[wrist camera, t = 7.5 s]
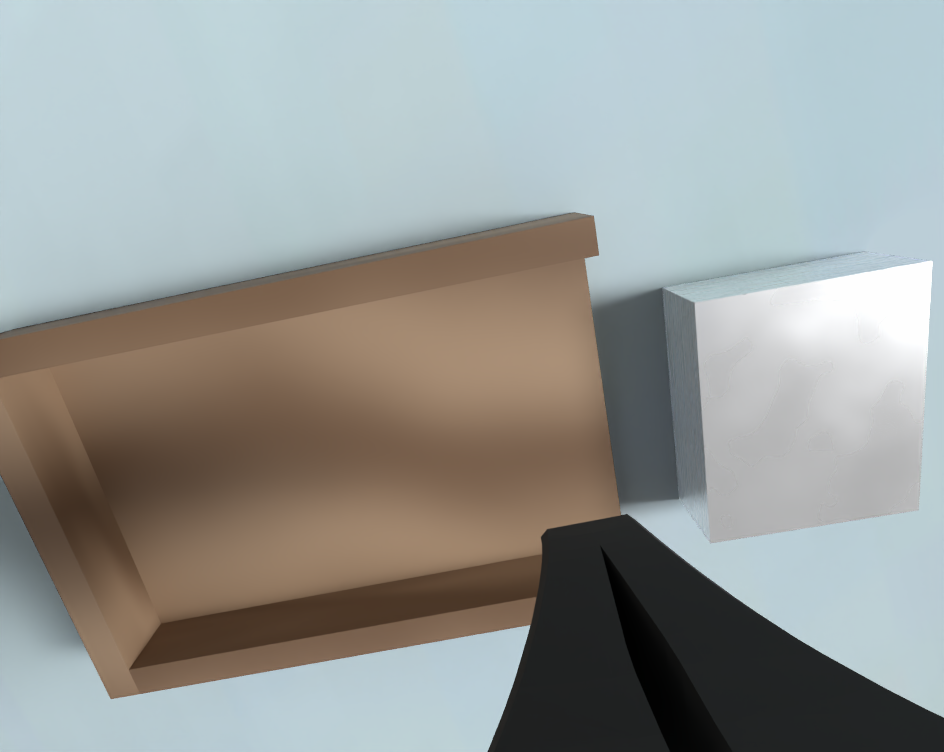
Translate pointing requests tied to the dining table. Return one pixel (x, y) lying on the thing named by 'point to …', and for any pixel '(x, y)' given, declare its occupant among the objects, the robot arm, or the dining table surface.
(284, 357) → the wooden box
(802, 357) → the cover plate
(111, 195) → the dining table surface
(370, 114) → the dining table surface
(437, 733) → the dining table surface
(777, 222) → the dining table surface
